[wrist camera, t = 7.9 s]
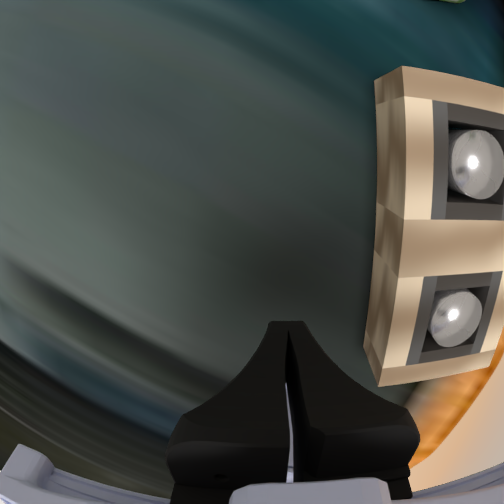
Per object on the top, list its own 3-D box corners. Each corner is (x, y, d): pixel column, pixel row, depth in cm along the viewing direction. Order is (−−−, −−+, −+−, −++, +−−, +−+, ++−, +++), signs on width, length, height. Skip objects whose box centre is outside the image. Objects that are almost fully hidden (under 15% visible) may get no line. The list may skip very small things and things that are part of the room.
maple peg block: (463, 334, 24) (488, 366, 19) (363, 346, 24) (378, 386, 20) (489, 99, 17) (530, 97, 13) (374, 80, 18) (401, 65, 13)
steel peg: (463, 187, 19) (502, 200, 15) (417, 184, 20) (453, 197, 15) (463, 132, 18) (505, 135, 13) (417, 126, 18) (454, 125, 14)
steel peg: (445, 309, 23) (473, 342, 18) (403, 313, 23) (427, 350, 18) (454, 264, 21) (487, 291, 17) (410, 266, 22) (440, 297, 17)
